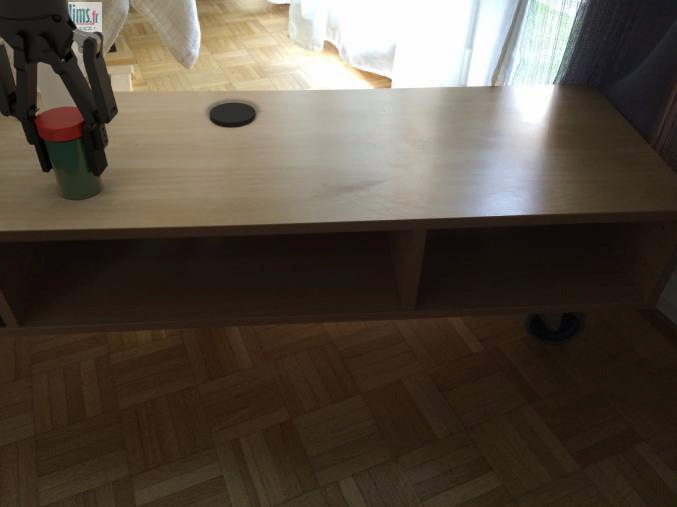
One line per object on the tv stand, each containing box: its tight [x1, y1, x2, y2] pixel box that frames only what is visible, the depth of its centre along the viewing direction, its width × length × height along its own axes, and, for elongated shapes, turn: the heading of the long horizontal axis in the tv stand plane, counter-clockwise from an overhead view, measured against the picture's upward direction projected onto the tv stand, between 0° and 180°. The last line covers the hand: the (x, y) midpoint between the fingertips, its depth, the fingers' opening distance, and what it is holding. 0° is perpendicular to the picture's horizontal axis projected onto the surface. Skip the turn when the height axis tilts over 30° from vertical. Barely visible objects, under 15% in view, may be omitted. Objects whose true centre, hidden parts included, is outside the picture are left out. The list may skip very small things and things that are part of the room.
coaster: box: [209, 101, 256, 128], centre depth 95 cm, size 7×7×1 cm
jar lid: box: [35, 107, 86, 141], centre depth 73 cm, size 6×6×2 cm
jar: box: [43, 136, 103, 201], centre depth 75 cm, size 5×5×9 cm
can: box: [37, 43, 86, 111], centre depth 89 cm, size 6×6×12 cm
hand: (75, 168), depth 76 cm, fingers closed on jar lid, 6 cm apart
